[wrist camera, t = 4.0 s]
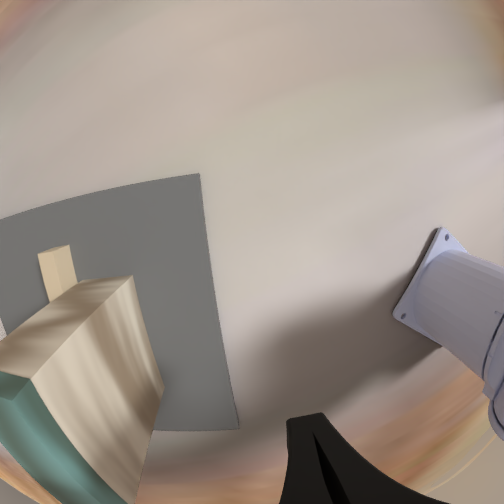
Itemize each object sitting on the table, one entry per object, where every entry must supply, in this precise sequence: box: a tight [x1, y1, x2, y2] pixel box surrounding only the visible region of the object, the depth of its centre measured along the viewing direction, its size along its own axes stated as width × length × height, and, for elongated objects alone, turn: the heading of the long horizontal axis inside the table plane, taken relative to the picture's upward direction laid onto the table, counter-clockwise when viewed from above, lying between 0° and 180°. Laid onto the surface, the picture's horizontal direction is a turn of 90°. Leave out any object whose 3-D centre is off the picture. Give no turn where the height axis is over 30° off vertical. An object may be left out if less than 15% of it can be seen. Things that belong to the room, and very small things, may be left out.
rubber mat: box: [0, 173, 239, 431], centre depth 16 cm, size 21×20×2 cm
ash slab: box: [0, 275, 165, 504], centre depth 11 cm, size 4×9×12 cm, turn 6°
